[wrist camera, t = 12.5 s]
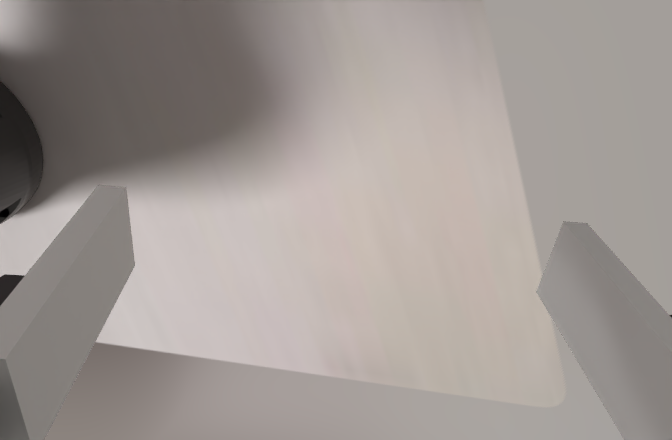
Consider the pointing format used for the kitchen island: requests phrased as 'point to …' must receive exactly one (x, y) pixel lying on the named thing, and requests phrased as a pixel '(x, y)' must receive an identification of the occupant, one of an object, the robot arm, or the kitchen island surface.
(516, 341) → the kitchen island surface
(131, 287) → the kitchen island surface
